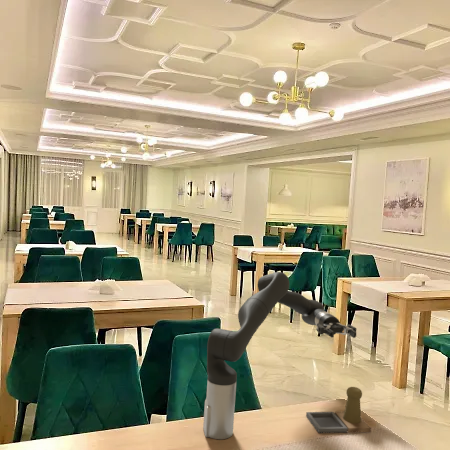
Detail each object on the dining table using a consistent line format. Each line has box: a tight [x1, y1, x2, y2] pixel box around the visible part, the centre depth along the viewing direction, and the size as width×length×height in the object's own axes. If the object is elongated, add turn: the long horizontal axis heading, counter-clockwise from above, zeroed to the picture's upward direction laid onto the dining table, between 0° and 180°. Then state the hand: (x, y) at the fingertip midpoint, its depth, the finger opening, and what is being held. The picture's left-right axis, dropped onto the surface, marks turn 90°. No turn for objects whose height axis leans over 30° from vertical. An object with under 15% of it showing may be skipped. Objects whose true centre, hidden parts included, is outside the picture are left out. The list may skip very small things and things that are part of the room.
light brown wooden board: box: [333, 411, 372, 434], centre depth 165 cm, size 8×12×2 cm, turn 10°
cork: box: [343, 386, 363, 423], centre depth 165 cm, size 6×6×11 cm
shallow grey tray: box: [305, 411, 348, 434], centre depth 163 cm, size 10×12×2 cm
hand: (344, 335), depth 174 cm, fingers open, 8 cm apart
